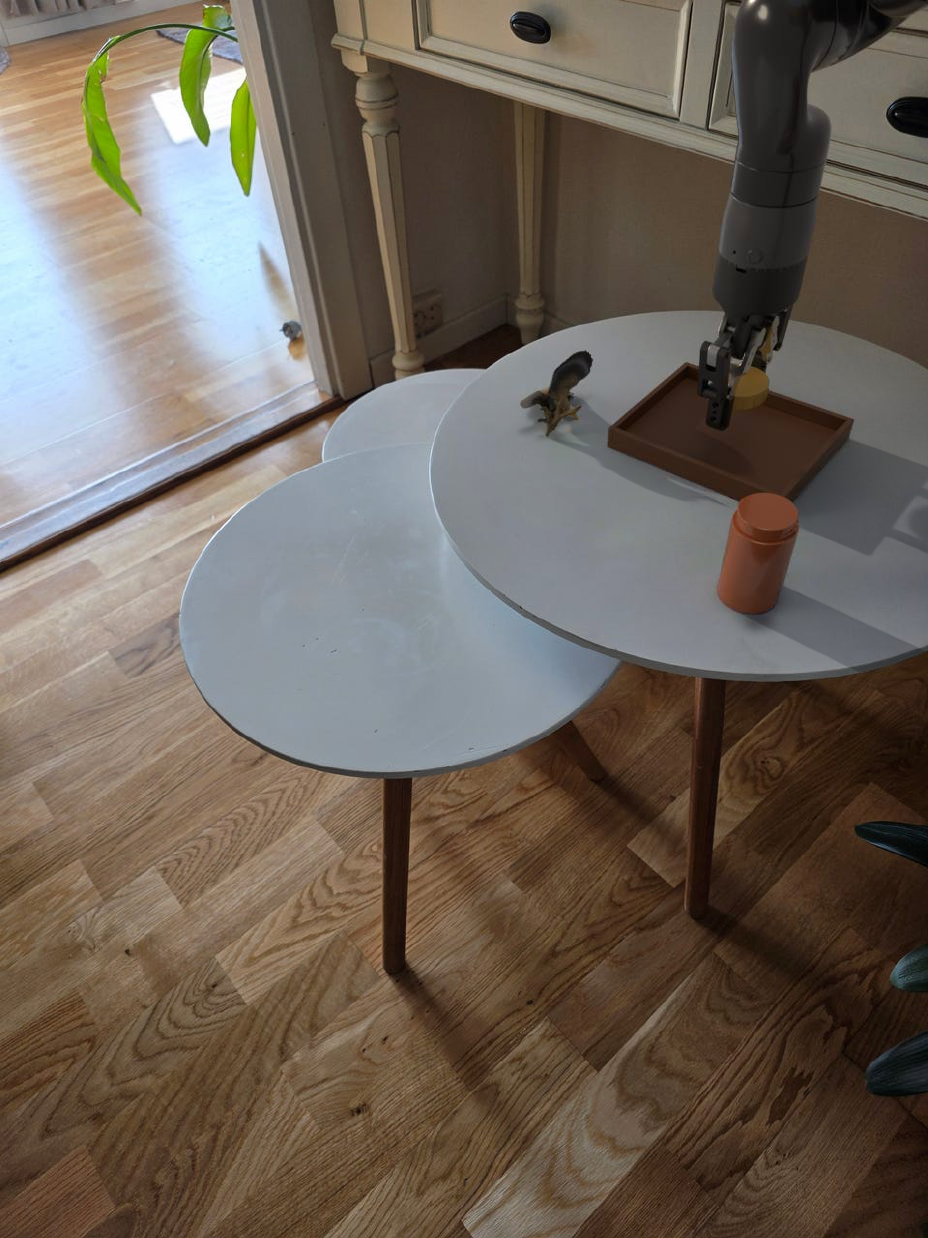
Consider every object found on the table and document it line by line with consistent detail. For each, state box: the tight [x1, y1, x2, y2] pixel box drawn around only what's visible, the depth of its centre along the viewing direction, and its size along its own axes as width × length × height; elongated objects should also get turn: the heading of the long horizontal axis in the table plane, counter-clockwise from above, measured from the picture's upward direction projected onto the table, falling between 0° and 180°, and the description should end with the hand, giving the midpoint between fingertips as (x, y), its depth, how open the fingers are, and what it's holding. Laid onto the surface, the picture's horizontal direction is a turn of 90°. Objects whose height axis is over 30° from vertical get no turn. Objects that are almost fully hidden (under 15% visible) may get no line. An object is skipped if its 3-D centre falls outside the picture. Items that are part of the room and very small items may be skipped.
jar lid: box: [728, 363, 770, 410], centre depth 85 cm, size 6×6×2 cm
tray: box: [606, 361, 855, 503], centre depth 89 cm, size 19×15×2 cm
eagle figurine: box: [519, 350, 594, 437], centre depth 93 cm, size 8×7×9 cm
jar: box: [716, 493, 800, 615], centre depth 72 cm, size 5×5×9 cm
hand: (732, 410), depth 87 cm, fingers closed on jar lid, 5 cm apart
